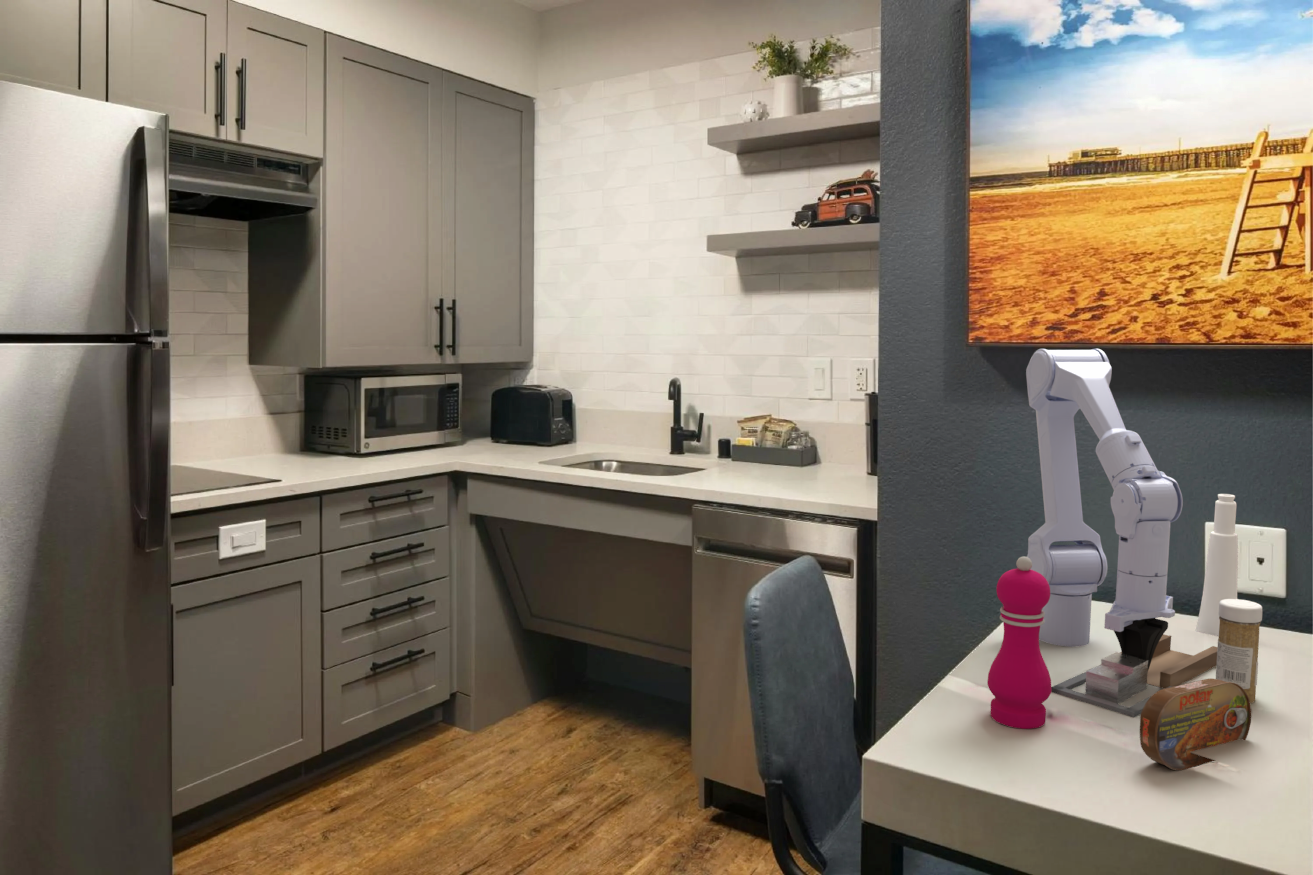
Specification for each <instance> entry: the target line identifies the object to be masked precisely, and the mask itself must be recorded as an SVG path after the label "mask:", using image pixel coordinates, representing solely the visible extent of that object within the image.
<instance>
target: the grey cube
mask: <svg viewBox="0 0 1313 875" xmlns="http://www.w3.org/2000/svg"><path fill="white" fill-rule="evenodd" d="M1100 662H1101V663H1100V664H1105V665H1108V666H1112V667H1116V668H1119V669H1123V670H1127V671H1130V672H1134V682H1133V697H1134V696H1136V695H1138V694H1139V693H1141V692H1143V691H1145V690H1147V689H1148V687H1147V686H1148V684H1147V673H1148V660H1145V659H1141V658H1137V657H1133V656H1129V655H1126V654H1122V653H1120V652H1116V651H1115V652H1114V653H1111V654H1110V655H1108V656H1105V657H1102V658H1101V659H1100Z"/></svg>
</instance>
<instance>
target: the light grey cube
mask: <svg viewBox="0 0 1313 875" xmlns="http://www.w3.org/2000/svg"><path fill="white" fill-rule="evenodd" d="M1085 672H1086V682H1085V692H1084V694H1087V695H1090V696H1093V697H1097V698H1100V699H1103V700H1107V701H1110V702H1113V703H1116V704H1121V703H1123V702H1125V701H1127V700H1129V699H1132V698H1133V697H1134V696H1133V682H1134V672H1130V671H1127V670H1123V669H1119V668H1116V667H1112V666H1108V665H1105V664H1101V663H1100V664H1098V665H1096V666H1095V667H1092V668H1090V669H1088V670H1086V671H1085Z"/></svg>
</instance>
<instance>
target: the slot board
mask: <svg viewBox="0 0 1313 875" xmlns="http://www.w3.org/2000/svg"><path fill="white" fill-rule="evenodd" d="M1171 642H1172V636H1171V635H1167V634H1165V633H1164V634H1163V635H1162V637H1161V639H1160V640H1159V642H1158V644H1157V646H1156V649H1155V651H1154V654H1153V657H1152V660H1151V664H1150V667H1149V670H1148V673H1147V685H1150V686H1154V687H1157V688H1161V689H1165V688H1167V687H1169V686H1172V687H1174V686H1179V685H1183V684H1185V683H1186V682H1189V681H1190V680H1192V679H1194V678H1195V677H1198V676H1200V675H1201V674H1204V673H1205V672H1208V671H1209V670H1212V669H1213V668H1216V664H1217V648H1218V646H1215V645H1212V646H1210V647H1209V648H1206V649H1204V650H1202V651H1200V652H1198V653H1196V654H1194V655H1192V654H1189V653H1184V652H1180V651H1177V650H1173V649H1171ZM1119 653H1122V651H1120V652H1119Z"/></svg>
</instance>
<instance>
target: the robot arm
mask: <svg viewBox="0 0 1313 875" xmlns="http://www.w3.org/2000/svg"><path fill="white" fill-rule="evenodd" d="M1112 369H1113V368H1112V366H1111V364H1110V360H1109V358H1108V356H1107V354H1106V353H1105V351H1103V350H1102V349H1100V348H1092V349H1046V348H1039V349H1037V350H1035V351H1034V352H1033V354H1032V355H1031V358H1030V360H1029V362H1028V364H1027V367H1026V369H1025V371H1026V372H1025V376H1026V386H1027V397H1028V398H1027V399H1028V405H1029V407H1030V408H1032V409H1033V410H1035V416H1036V417H1035V418H1036V427H1037V428H1036V430H1037V440H1038V441H1037V442H1038V452H1039V464H1040V475H1041V486H1042V487H1041V488H1042V497H1043V498H1042V499H1043V508H1044V509H1043V510H1044V512H1043V513H1044V521H1045V522H1044V523H1043V525H1041V526H1040V527H1038V529H1037V530H1035V531H1034V532H1033V533H1032V534H1031V535H1030V536H1029V537H1028V538H1027V539H1028V543H1027V545H1028V547H1027V554H1026V557H1028V558H1029V559H1030V560H1031V561H1032V567H1031V569H1030V570H1034V571H1036V572H1038V573H1040V574H1041V575H1043V576H1044V577H1045V578H1046V580H1047V582H1048V584H1049V587H1050V599H1049V601H1048V603H1047V604H1046V605H1045V606H1044V607H1043V608H1042V610H1043V611H1044V612H1045V616H1044V621H1045V622H1044V624H1043V625H1041V626H1040V631H1039V641H1042V642H1044V643H1047V644H1050V645H1055V646H1061V647H1082V646H1083V647H1085V646H1087V645H1088V644H1090V636H1091V616H1092V598H1093V596H1092V595H1093V593H1097V592H1098V586H1101V585H1102V584H1103V582H1104V581H1105V579H1106V577H1107V575H1108V559H1107V556H1106V554H1105V552H1104V550H1103V546H1102V541H1101V536H1100V534H1099V533H1097V531H1095V530H1094V529H1092V527H1090V526H1089V525H1088V524H1086V523H1085V522H1084V515H1083V507H1082V506H1083V505H1082V493H1081V485H1080V484H1081V483H1080V474H1079V473H1080V472H1079V463H1078V454H1077V453H1078V450H1077V449H1078V448H1077V441H1076V440H1077V439H1076V431H1075V430H1076V427H1075V420H1074V419H1075V415H1076V414H1077V412H1078V411H1079V410H1080V411H1081V412H1082V414H1083V416H1084V417H1085V419H1086V420H1087V422H1088V424H1089V425H1090V427H1091V429H1092V430H1093V432H1094V434H1095V436H1096V437H1097V438H1098V440H1099V441H1098V443H1097V444H1096V447H1095V454H1096V456H1097V459H1098V461H1099V462H1100V464H1101V467H1102V468H1103V470H1104V472H1105V474H1106V476H1107V479H1108V481H1109V483H1110V485H1111V487H1112V489H1113V491H1112V492H1113V493H1112V496H1110V508H1111V511H1112V514H1113V516H1114V529H1115V534H1117V535H1118V551H1117V569H1116V570H1117V571H1116V588H1115V600H1114V601H1113V603H1112V605H1111V608H1110V610H1109V611H1108V612H1106V613H1105V614H1104V626H1103V627H1104V629H1106V630H1110V631H1113V632H1114V635H1115V636H1116V638H1117V641H1118V643H1119V644H1118V645H1119V647H1120V650H1121V651H1120V652H1122V654H1126V655H1129V656H1133V657H1137V658H1141V659H1145V660H1148V670H1149V667H1150V664H1151V660H1152V657H1153V654H1154V651H1155V649H1156V646H1157V644H1158V642H1159V640H1160V639H1161V637H1162V635H1163V634H1164V635H1165V633H1166V631H1167V630H1168V628H1169V622H1168V621H1166V620H1164V619H1165V618H1166V619H1170V618H1172V617H1175V616H1176V610H1175V609H1173V605H1174V596H1171V595H1170V596H1169V595H1167V588H1168V587H1167V584H1168V569H1169V553H1170V540H1171V539H1170V537H1171V536H1170V535H1171V523H1173V522H1176V521H1177V520H1178V519H1179V517H1180V516H1181V514H1182V510H1183V504H1184V501H1183V500H1184V499H1183V494H1182V491H1181V489H1180V485H1179V482H1177V480H1176V479H1175V478H1173V477H1170V476H1168V475H1166V473H1165V472H1164V471H1162V470H1161V471H1160V470H1158V468H1157V466H1156V464H1155V462H1154V460H1153V459H1152V457H1151V454H1150V453H1149V451H1148V449H1147V447H1146V445H1145V444H1144V442H1143V440H1142V438H1141V436H1140V434H1139V433H1138V432H1135V431H1133V430H1129V429H1126V426H1125V424H1124V420H1123V419H1122V416H1121V414H1120V411H1119V408H1118V406H1117V403H1116V400H1115V399H1114V396H1113V393H1112V390H1111V388H1110V383H1111V380H1112V372H1113V371H1112ZM1054 542H1055V543H1057V542H1058V543H1059V542H1060V543H1061V542H1062V543H1063V542H1073V543H1075V544H1053V543H1054ZM1158 618H1159V619H1158ZM1160 618H1164V619H1160Z"/></svg>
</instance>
